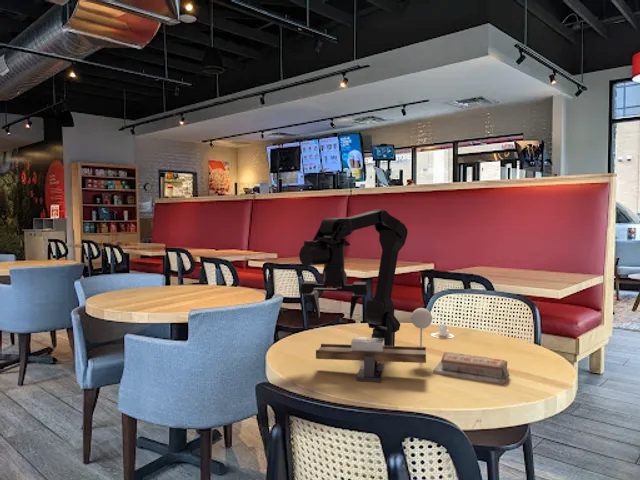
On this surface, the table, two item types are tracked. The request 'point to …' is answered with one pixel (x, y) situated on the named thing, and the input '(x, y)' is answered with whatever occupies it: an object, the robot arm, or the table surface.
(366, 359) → the stand
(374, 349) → the block
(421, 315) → the lollipop
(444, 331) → the teacup and saucer
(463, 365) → the packaged product
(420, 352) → the beam
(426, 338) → the table surface
